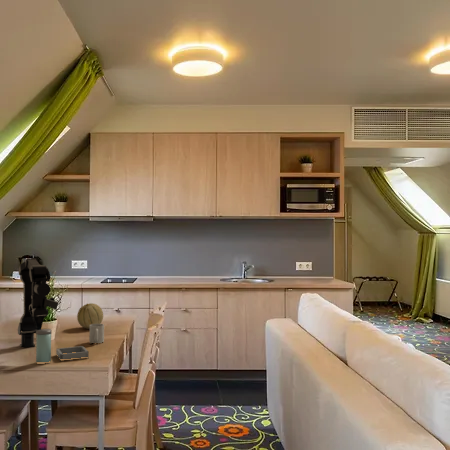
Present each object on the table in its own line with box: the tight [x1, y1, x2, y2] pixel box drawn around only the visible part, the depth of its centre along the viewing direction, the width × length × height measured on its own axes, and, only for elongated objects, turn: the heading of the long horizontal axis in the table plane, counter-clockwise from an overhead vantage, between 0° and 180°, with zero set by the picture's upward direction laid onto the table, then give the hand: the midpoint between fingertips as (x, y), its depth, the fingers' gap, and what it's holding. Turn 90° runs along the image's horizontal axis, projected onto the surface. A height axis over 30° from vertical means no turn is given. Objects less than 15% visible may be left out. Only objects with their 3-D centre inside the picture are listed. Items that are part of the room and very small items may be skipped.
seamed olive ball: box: [76, 302, 104, 330], centre depth 283 cm, size 15×15×15 cm
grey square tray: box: [55, 345, 90, 359], centre depth 220 cm, size 12×12×3 cm
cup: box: [88, 323, 105, 344], centre depth 247 cm, size 7×10×9 cm
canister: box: [35, 328, 52, 363], centre depth 210 cm, size 6×6×14 cm
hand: (38, 328), depth 219 cm, fingers open, 9 cm apart
